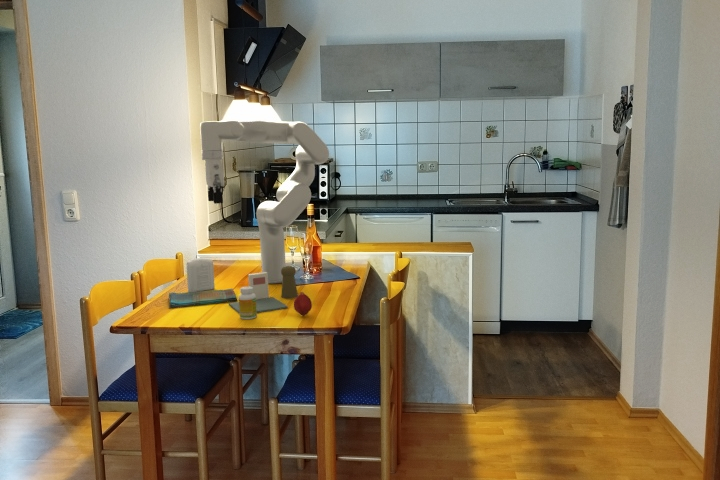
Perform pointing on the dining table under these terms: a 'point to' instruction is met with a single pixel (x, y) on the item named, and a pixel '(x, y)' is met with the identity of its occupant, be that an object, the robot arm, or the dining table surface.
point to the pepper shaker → (288, 283)
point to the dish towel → (201, 298)
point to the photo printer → (200, 274)
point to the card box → (259, 284)
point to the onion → (302, 304)
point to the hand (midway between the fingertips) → (215, 202)
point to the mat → (263, 305)
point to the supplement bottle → (247, 303)
